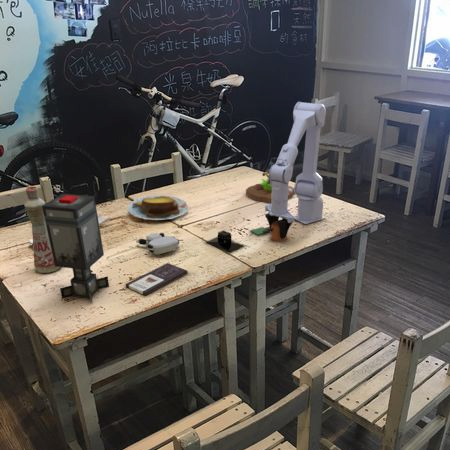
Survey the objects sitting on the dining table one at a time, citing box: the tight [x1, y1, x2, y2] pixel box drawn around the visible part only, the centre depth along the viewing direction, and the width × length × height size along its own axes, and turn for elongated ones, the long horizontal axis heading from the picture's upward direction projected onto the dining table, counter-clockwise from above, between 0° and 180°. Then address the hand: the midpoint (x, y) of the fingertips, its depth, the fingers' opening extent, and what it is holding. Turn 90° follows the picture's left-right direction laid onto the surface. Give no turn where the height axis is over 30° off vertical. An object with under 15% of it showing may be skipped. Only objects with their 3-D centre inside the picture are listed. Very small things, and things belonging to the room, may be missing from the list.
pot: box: [263, 221, 286, 242], centre depth 183 cm, size 10×5×7 cm, turn 121°
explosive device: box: [42, 193, 110, 304], centre depth 147 cm, size 10×10×30 cm
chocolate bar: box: [125, 262, 188, 296], centre depth 160 cm, size 9×1×18 cm
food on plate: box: [127, 194, 189, 221], centre depth 210 cm, size 25×25×7 cm
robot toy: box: [135, 232, 184, 255], centre depth 180 cm, size 12×4×15 cm
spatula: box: [249, 226, 271, 237], centre depth 193 cm, size 14×5×1 cm, turn 121°
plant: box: [245, 170, 296, 204], centre depth 224 cm, size 20×20×11 cm
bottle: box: [23, 185, 62, 274], centre depth 162 cm, size 9×9×28 cm
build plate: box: [205, 230, 245, 253], centre depth 181 cm, size 12×7×5 cm, turn 45°
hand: (278, 235), depth 185 cm, fingers closed on pot, 5 cm apart
